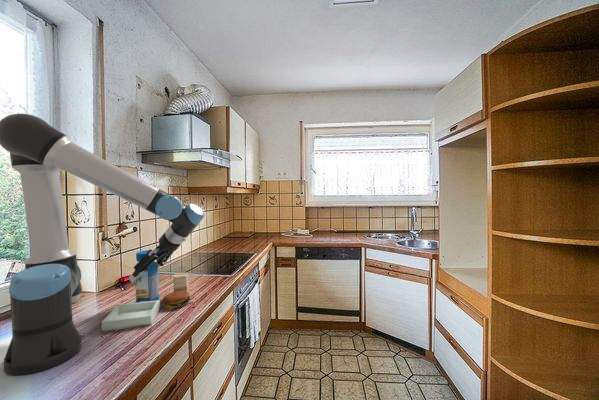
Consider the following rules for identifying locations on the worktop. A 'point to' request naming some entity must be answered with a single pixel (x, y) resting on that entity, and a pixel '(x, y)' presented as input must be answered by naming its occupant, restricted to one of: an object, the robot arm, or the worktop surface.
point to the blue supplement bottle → (147, 281)
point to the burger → (175, 299)
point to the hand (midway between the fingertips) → (140, 277)
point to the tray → (131, 315)
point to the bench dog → (180, 282)
